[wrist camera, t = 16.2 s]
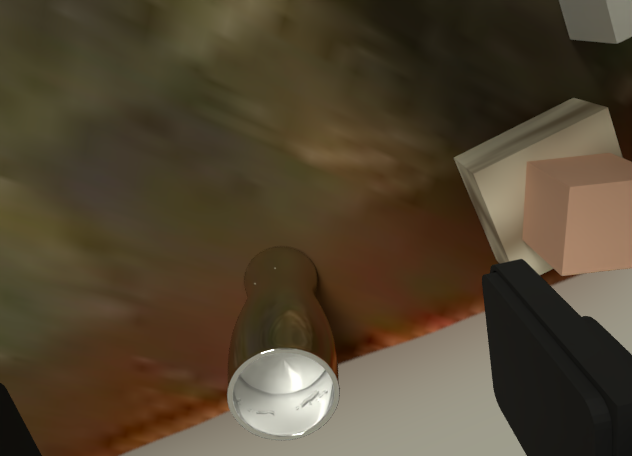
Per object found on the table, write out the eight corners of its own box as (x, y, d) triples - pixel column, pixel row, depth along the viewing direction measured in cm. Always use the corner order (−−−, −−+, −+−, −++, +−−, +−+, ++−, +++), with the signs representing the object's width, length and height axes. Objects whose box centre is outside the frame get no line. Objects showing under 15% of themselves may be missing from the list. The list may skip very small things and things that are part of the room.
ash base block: (452, 156, 43) (473, 174, 39) (571, 96, 42) (607, 107, 37) (494, 257, 47) (519, 284, 42) (605, 205, 46) (643, 226, 41)
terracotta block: (526, 161, 38) (569, 187, 33) (609, 152, 39) (666, 176, 33) (522, 239, 41) (561, 276, 35) (600, 231, 41) (652, 265, 35)
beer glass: (339, 268, 46) (367, 381, 32) (291, 329, 47) (298, 460, 34) (269, 225, 44) (267, 324, 30) (222, 289, 46) (200, 411, 32)
